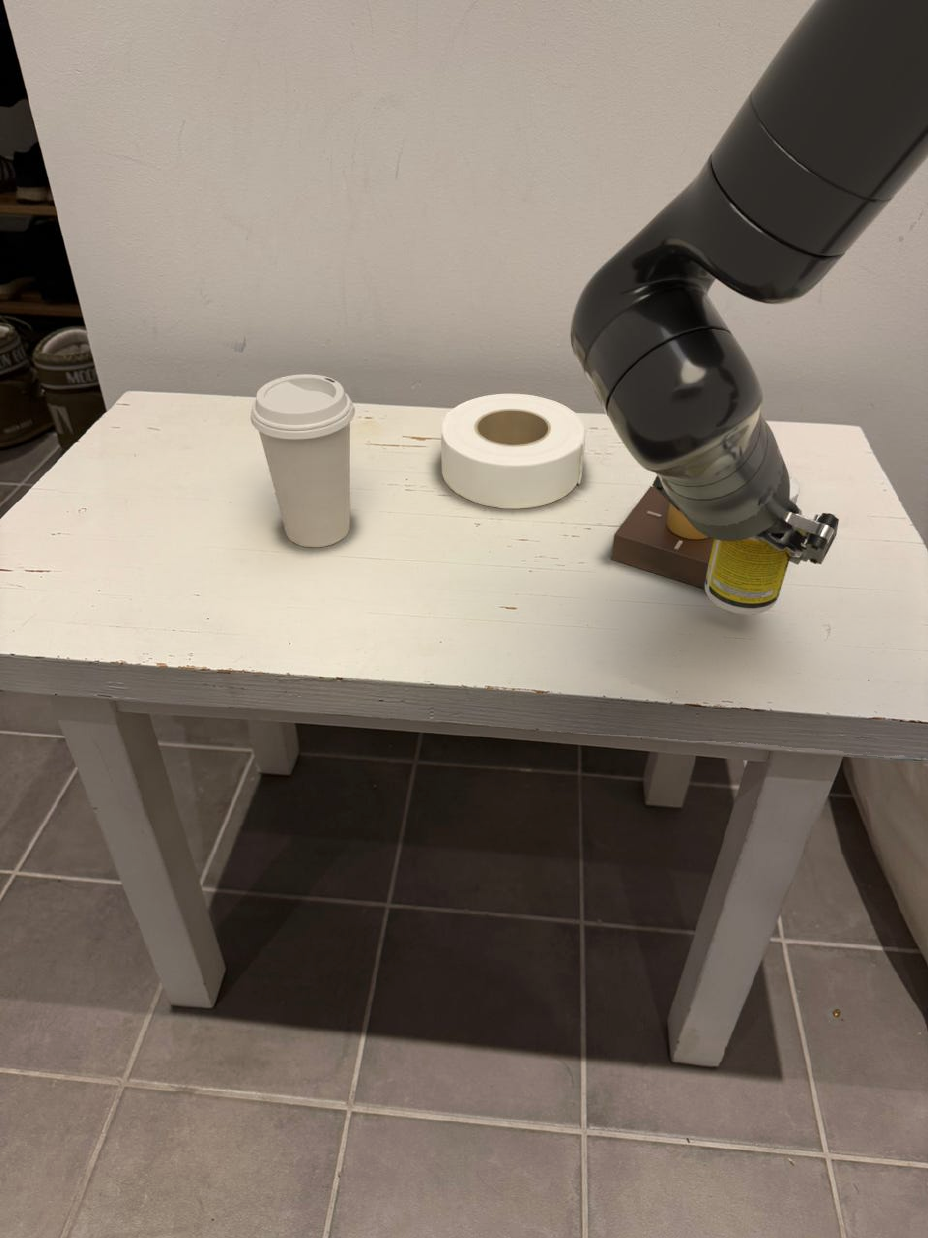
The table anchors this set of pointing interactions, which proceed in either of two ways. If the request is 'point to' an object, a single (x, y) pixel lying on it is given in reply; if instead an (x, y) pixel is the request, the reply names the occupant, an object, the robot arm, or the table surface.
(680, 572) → the panel
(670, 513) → the knob
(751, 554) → the pill bottle
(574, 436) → the tape roll
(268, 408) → the coffee cup
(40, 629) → the table surface
